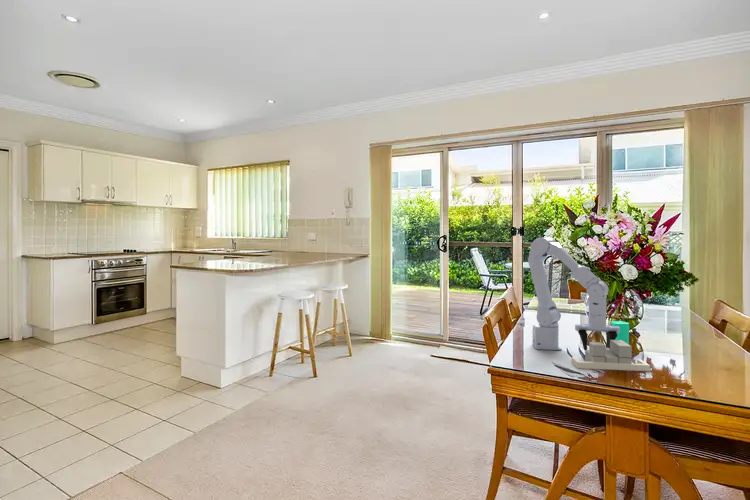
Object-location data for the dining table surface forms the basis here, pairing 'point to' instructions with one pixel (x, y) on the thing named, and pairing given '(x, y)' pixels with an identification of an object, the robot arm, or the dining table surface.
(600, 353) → the grey stepped blocky piece
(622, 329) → the candle
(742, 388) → the dining table surface
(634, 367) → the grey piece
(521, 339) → the dining table surface
